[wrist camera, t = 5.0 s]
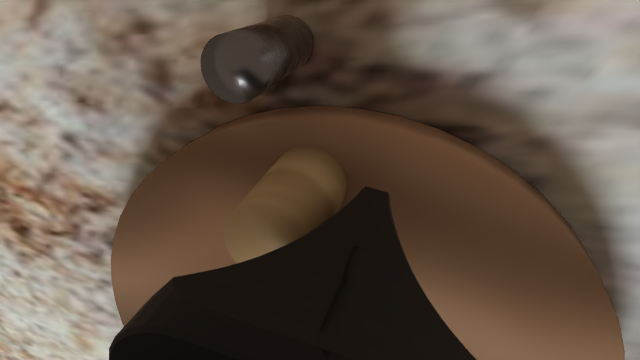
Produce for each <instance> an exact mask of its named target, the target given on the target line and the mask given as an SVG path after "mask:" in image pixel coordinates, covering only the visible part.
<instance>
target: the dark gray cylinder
mask: <svg viewBox="0 0 640 360" xmlns="http://www.w3.org/2000/svg"><path fill="white" fill-rule="evenodd" d="M313 47H314V41H313V36H312V33H311V31H310V29H309V27H308V26H307V25H306V24H305V23H304V22H303V21H302V20H301V19H299V18H297V17H294V16H281V17H278V18H274V19H271V20H268V21H264V22H261V23H257V24H254V25H250V26H247V27H243V28H240V29H236V30H233V31H230V32H226V33H223V34H219V35H217V36H215V37H213V38H212V39H210V40H209V41H208V43H207V44H206V45H205V47H204V49H203V52H202V56H201V70H202V74H203V77H204V80H205V82H206V84H207V85H208V87H209V88H210V89H211V91H212V92H213V93H214V94H215V95H217V96H218V97H219V98H221V99H223V100H225V101H227V102H230V103H236V104H240V103H246V102H248V101H250V100H252V99H254V98H255V97H257V96H258V95H260V94H261V93H263V92H264V91H265V90H267V89H268V88H270V87H271V86H273V85H274V84H276V83H277V82H279V81H280V80H282V79H283V78H285V77H286V76H288V75H289V74H291V73H292V72H294V71H295V70H297V69H298V68H300V67H301V66H303V65H304V64H305V63H306V62H307V61H308V60H309V59H310V57H311V55H312V52H313Z"/></svg>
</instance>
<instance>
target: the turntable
mask: <svg viewBox="0 0 640 360" xmlns="http://www.w3.org/2000/svg"><path fill="white" fill-rule="evenodd" d="M365 186H367V187H370V188H374V189H378V190H381V191H385V192H388V194H389V196H390V206H391V212H392V216H393V220H394V224H395V228H396V231H397V234H398V237H399V240H400V243H401V246H402V248H403V251H404V253H405V255H406V258H407V260H408V262H409V265H410V267H411V269H412V271H413V273H414V275H415V277H416V279H417V281H418V282H419V284H420V286H421V288H422V289H423V291H424V293H425V294H426V296H427V298H428V299H429V301H430V302H431V304H432V305H433V307H434V308H435V309H436V311H437V312H438V314H439V315H440V316H441V318H442V319H443V321H444V322H445V323H446V325H447V326H448V327H449V329H450V330H451V331H452V332H453V333H454V335H455V336H456V337H457V338H458V339H459V340H460V342H461V343H462V344H463V345H464V346H465V348H466V349H467V350H468V351H469V352H470V353H471V354H472V355H473V356H474V357H475V358H476V359H477V360H624V353H625V351H624V346H623V341H622V336H621V331H620V326H619V321H618V318H617V315H616V313H615V310H614V308H613V306H612V303H611V301H610V298H609V296H608V294H607V291H606V289H605V286H604V284H603V282H602V280H601V278H600V276H599V274H598V272H597V270H596V268H595V266H594V264H593V262H592V260H591V258H590V256H589V255H588V253H587V251H586V250H585V248H584V247H583V245H582V244H581V242H580V240H579V239H578V237H577V236H576V234H575V233H574V231H573V229H572V228H571V226H570V225H569V224H568V223H567V221H566V220H565V219H564V218H563V217H562V216H561V215H560V214H559V212H558V211H557V210H556V209H555V208H554V207H553V206H552V204H551V203H550V202H549V201H548V200H547V199H546V198H545V197H544V196H543V195H542V194H541V193H540V192H539V191H537V190H536V189H535V188H534V187H533V186H532V185H530V184H529V183H528V182H527V181H526V180H524V179H523V178H522V177H521V176H520V175H519V174H517V173H516V172H515V171H514V170H512V169H511V168H509V167H508V166H506V165H505V164H503V163H501V162H500V161H498V160H497V159H495V158H494V157H492V156H491V155H489V154H487V153H486V152H484V151H483V150H481V149H480V148H478V147H476V146H474V145H472V144H470V143H467V142H465V141H463V140H461V139H459V138H457V137H455V136H453V135H450V134H448V133H446V132H444V131H442V130H440V129H437V128H434V127H431V126H428V125H425V124H422V123H419V122H416V121H413V120H409V119H406V118H403V117H400V116H397V115H391V114H386V113H381V112H376V111H370V110H365V109H360V108H349V107H333V106H305V107H291V108H280V109H275V110H270V111H266V112H261V113H257V114H252V115H247V116H244V117H242V118H239V119H237V120H234V121H231V122H229V123H226V124H223V125H221V126H218V127H216V128H214V129H213V130H211V131H209V132H208V133H206V134H204V135H202V136H201V137H199V138H197V139H195V140H194V141H192V142H191V143H189V144H188V145H186V146H185V147H183V148H182V149H180V150H179V151H177V152H176V153H174V154H173V155H172V156H170V157H169V158H167V159H166V160H165V161H164V162H163V163H162V164H160V165H159V166H158V167H157V168H156V169H154V170H153V171H152V172H151V173H150V174H148V175H147V177H146V178H145V179H144V180H143V182H142V183H141V184H140V185H139V187H138V188H137V189H136V190H135V191H134V193H133V194H132V195H131V197H130V199H129V201H128V203H127V205H126V207H125V208H124V210H123V212H122V214H121V216H120V219H119V222H118V226H117V229H116V232H115V235H114V239H113V247H112V255H111V273H112V285H113V290H114V296H115V301H116V305H117V308H118V311H119V314H120V317H121V320H122V323H123V325H124V326H125V325H126V324H127V323H128V322H129V321H130V320H131V319H132V317H133V316H134V315H135V314H136V313H137V312H138V311H139V310H140V308H141V307H142V306H143V305H144V304H145V303H146V302H147V301H148V300H149V299H150V298H151V297H152V296H153V295H154V294H155V293H156V292H157V291H158V290H160V289H161V288H162V287H163V286H164V285H165V284H166V283H167V282H169V281H170V280H171V279H172V278H173V277H177V276H183V275H188V274H193V273H198V272H203V271H208V270H213V269H218V268H222V267H226V266H229V265H233V264H237V263H240V262H243V261H247V260H250V259H253V258H256V257H259V256H261V255H264V254H266V253H269V252H271V251H274V250H276V249H278V248H280V247H283V246H285V245H287V244H289V243H291V242H293V241H295V240H296V239H298V238H300V237H302V236H304V235H305V234H307V233H309V232H310V231H312V230H313V229H315V228H316V227H318V226H319V225H321V224H322V223H324V222H325V221H327V220H328V219H329V218H331V217H332V216H333V215H335V214H336V213H337V212H338V211H340V210H341V209H342V208H343V207H344V206H346V205H347V204H348V203H349V202H350V201H351V200H352V199H353V198H354V197H355V196H356V195H357V194H358V193H359V192H360V191H361V189H363V188H365Z"/></svg>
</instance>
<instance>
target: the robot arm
mask: <svg viewBox="0 0 640 360" xmlns="http://www.w3.org/2000/svg"><path fill="white" fill-rule="evenodd" d="M109 360H477V359H476V358H475V357H474V356H473V355H472V354H471V353H470V352H469V351H468V350H467V349H466V348H465V346H464V345H463V344H462V343H461V342H460V340H459V339H458V338H457V337H456V336H455V335H454V333H453V332H452V331H451V330H450V329H449V327H448V326H447V325H446V323H445V322H444V321H443V319H442V318H441V316H440V315H439V314H438V312H437V311H436V309H435V308H434V307H433V305H432V304H431V302H430V301H429V299H428V298H427V296H426V294H425V293H424V291H423V289H422V288H421V286H420V284H419V282H418V281H417V279H416V277H415V275H414V273H413V271H412V269H411V267H410V265H409V262H408V260H407V258H406V255H405V253H404V251H403V248H402V246H401V243H400V240H399V237H398V234H397V231H396V228H395V224H394V220H393V216H392V212H391V206H390V196H389V194H388V192H385V191H381V190H378V189H374V188H370V187H367V186H365V188H363V189H361V191H360V192H359V193H358V194H357V195H356V196H355V197H354V198H353V199H352V200H351V201H350V202H349V203H348V204H347V205H346V206H344V207H343V208H342V209H341V210H340V211H338V212H337V213H336V214H335V215H333V216H332V217H331V218H329V219H328V220H327V221H325V222H324V223H322V224H321V225H319V226H318V227H316V228H315V229H313V230H312V231H310V232H309V233H307V234H305V235H304V236H302V237H300V238H298V239H296V240H295V241H293V242H291V243H289V244H287V245H285V246H283V247H280V248H278V249H276V250H274V251H271V252H269V253H266V254H264V255H261V256H259V257H256V258H253V259H250V260H247V261H243V262H240V263H237V264H233V265H229V266H226V267H222V268H218V269H213V270H208V271H203V272H198V273H193V274H188V275H183V276H177V277H173V278H172V279H171V280H170V281H169V282H167V283H166V284H165V285H164V286H163V287H162V288H161V289H160V290H158V291H157V292H156V293H155V294H154V295H153V296H152V297H151V298H150V299H149V300H148V301H147V302H146V303H145V304H144V305H143V306H142V307H141V308H140V310H139V311H138V312H137V313H136V314H135V315H134V316H133V317H132V319H131V320H130V321H129V322H128V323H127V324H126V325H125V326H124V327H123V329H122V330H121V331H120V332H119V333H118V334H117V335H116V336H115V338H114V340H113V342H112V344H111V346H110V348H109Z"/></svg>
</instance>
